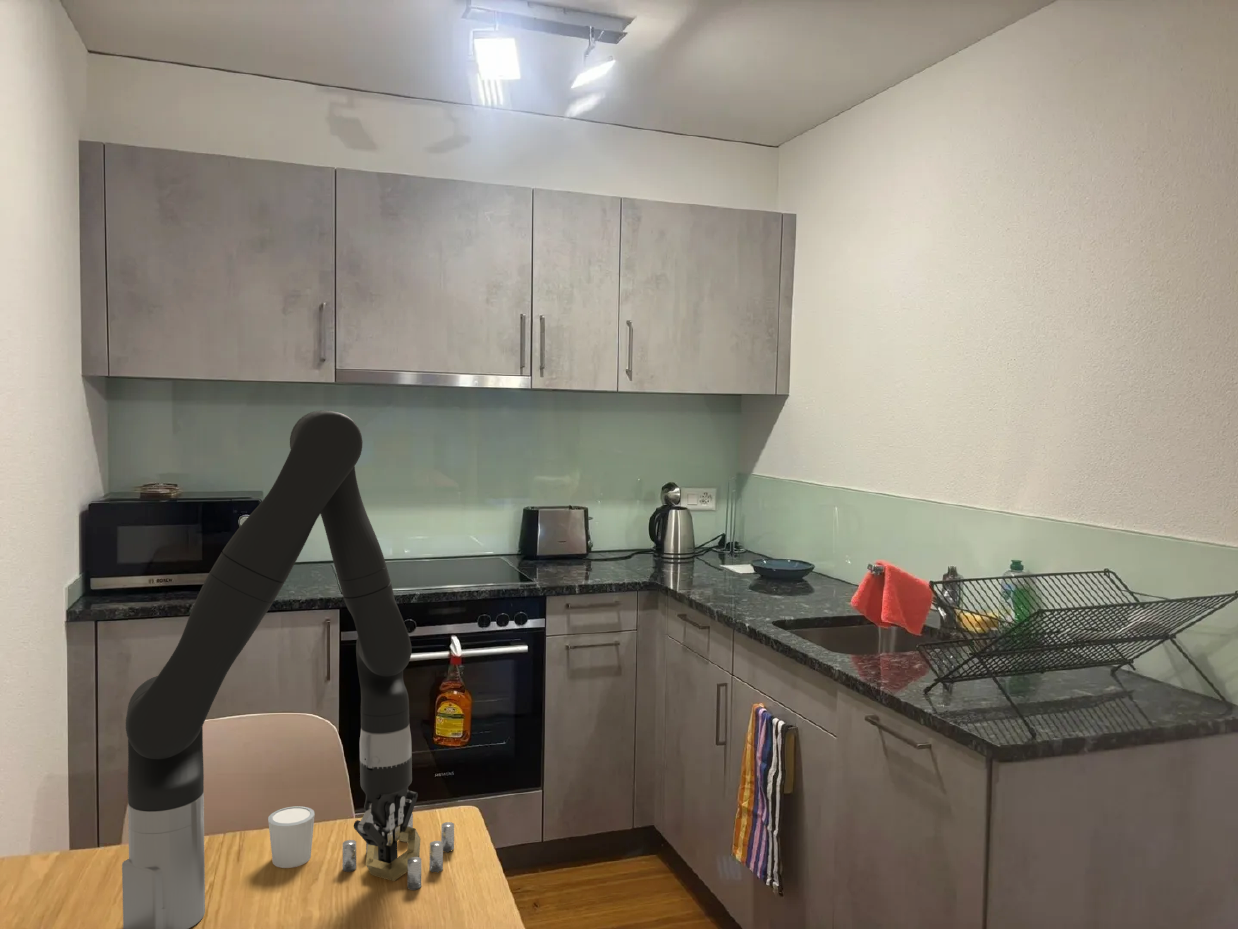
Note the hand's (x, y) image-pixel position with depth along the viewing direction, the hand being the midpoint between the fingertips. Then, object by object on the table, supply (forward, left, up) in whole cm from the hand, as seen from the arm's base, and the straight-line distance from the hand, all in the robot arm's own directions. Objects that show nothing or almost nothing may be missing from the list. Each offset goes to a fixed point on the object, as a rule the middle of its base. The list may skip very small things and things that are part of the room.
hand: (388, 866), depth 138 cm
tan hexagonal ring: (+2, 0, +1) cm, 2 cm away
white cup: (-3, +16, -1) cm, 16 cm away
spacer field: (+4, 0, -1) cm, 4 cm away
